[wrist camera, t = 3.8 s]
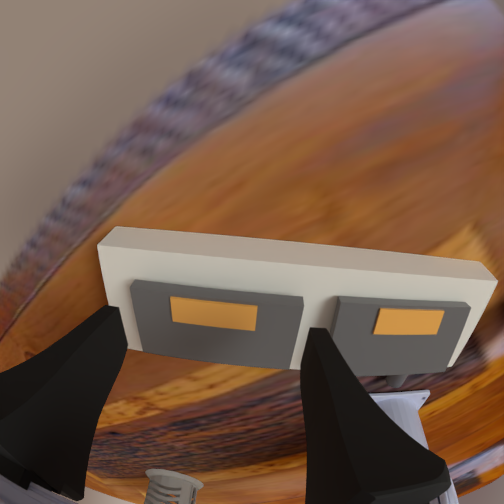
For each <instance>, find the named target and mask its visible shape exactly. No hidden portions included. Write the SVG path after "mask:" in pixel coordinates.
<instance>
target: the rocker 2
mask: <svg viewBox="0 0 504 504" xmlns="http://www.w3.org/2000/svg"><path fill="white" fill-rule="evenodd" d="M470 310H471V307H470V306H469V305H468V304H467V303H466V302H452V301H426V300H404V299H385V298H368V297H352V296H338V298H337V303H336V307H335V312H334V316H333V321H332V325H331V329H330V335H331V337H332V339H333V341H334V342H335V344H336V346H337V348H338V349H339V351H340V353H341V354H342V356H343V358H344V359H345V361H346V362H347V364H348V365H349V367H350V368H351V370H352V371H353V373H354V375H355V376H384V375H407V374H423V373H435V372H445V370H446V368H447V366H448V364H449V362H450V359H451V357H452V355H453V353H454V350H455V348H456V346H457V343H458V341H459V339H460V336H461V334H462V331H463V329H464V326H465V323H466V321H467V318H468V315H469V313H470Z"/></svg>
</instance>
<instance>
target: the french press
mask: <svg viewBox="0 0 504 504" xmlns="http://www.w3.org/2000/svg"><path fill="white" fill-rule="evenodd" d="M145 473H146V475H147V476H148V478H149V479H150V482H149V486H148V490H147V494H146V498H145V502H144V504H163V503H165V504H172V503H170V502H168V501H174V502H175V503H177V504H195V502H196V495H197V490H199V489H201V488H202V487H203V486H204V485H203V483H202V482H200V481H199V480H197V479H195V478H193V477H190V476H188V475H185V474H181V473H178V472H174V471H168V470H163V469H149V470H146V472H145ZM159 491H160V492H159ZM161 492H163V493H161ZM167 494H173V495H175V496H176V498H173V497H171V496H170V495H167ZM193 497H194V499H193V500H192V498H193ZM191 500H192V501H191ZM160 502H163V503H160Z"/></svg>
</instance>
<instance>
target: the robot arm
mask: <svg viewBox="0 0 504 504" xmlns="http://www.w3.org/2000/svg"><path fill="white" fill-rule="evenodd" d="M127 347H128V342H127V338H126V334H125V330H124V326H123V322H122V318H121V313H120V309H119V307H115V306H109V305H105V306H103V307H102V308H101V309H99V310H98V311H97V312H95V313H94V314H93V315H91V316H90V317H89V318H87V319H86V320H85V321H84V322H82V323H81V324H80V325H78V326H77V327H76V328H74V329H73V330H72V331H71V332H69V333H68V334H67V335H65V336H64V337H62V338H61V339H60V340H58V341H57V342H55V343H54V344H53V345H51V346H50V347H48V348H47V349H45V350H44V351H42V352H41V353H39V354H37V355H36V356H34V357H32V358H30V359H29V360H27V361H25V362H23V363H21V364H19V365H17V366H15V367H13V368H11V369H9V370H6V371H4V372H2V373H0V504H78V503H75V502H73V501H70V500H68V499H66V498H64V497H61V496H59V495H57V494H61V495H63V496H65V497H68V498H70V499H72V500H75V501H79V500H82V499H83V498H84V488H85V479H86V472H87V466H88V460H89V454H90V450H91V446H92V441H93V437H94V433H95V430H96V426H97V423H98V419H99V416H100V414H101V411H102V409H103V406H104V404H105V402H106V400H107V397H108V395H109V393H110V391H111V389H112V386H113V384H114V382H115V380H116V378H117V375H118V373H119V371H120V369H121V367H122V364H123V360H124V357H125V354H126V351H127ZM300 389H301V397H302V405H303V414H304V422H305V430H306V440H307V478H306V498H305V504H459V503H458V499H457V495H456V491H455V488H454V485H453V482H452V479H451V477H450V475H449V471H448V468H447V465H446V462H445V460H444V459H442V458H440V457H439V456H437V455H436V454H434V453H433V452H431V451H430V450H429V449H428V445H427V442H426V438H425V435H424V431H423V428H422V425H421V421H420V418H419V415H418V412H417V411H418V410H419V408H420V407H421V406H422V405H423V403H424V402H425V400H426V399H427V398H428V396H429V395H430V391H429V390H419V391H407V392H393V393H374V394H368V392H367V391H366V390H365V388H364V387H363V386H362V384H361V383H360V382H359V380H358V379H357V377H356V376H355V375H354V373H353V371H352V370H351V368H350V367H349V365H348V364H347V362H346V361H345V359H344V358H343V356H342V354H341V353H340V351H339V349H338V348H337V346H336V344H335V342H334V341H333V339H332V337H331V335H330V333H329V331H328V330H327V329H326V328H315V327H310V328H309V332H308V336H307V340H306V344H305V348H304V352H303V356H302V360H301V364H300ZM51 491H53V492H55V493H57V494H55V493H53V492H51Z"/></svg>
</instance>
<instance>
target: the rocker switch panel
mask: <svg viewBox="0 0 504 504" xmlns="http://www.w3.org/2000/svg"><path fill="white" fill-rule="evenodd" d="M97 248H98V254H99V260H100V265H101V270H102V275H103V280H104V285H105V290H106V295H107V299H108V304H109V306H115V307H119V309H120V313H121V318H122V322H123V326H124V330H125V334H126V338H127V342H128V347H127V348H128V349H133V350H138V351H143V349H142V345H141V341H140V337H139V332H138V328H137V323H136V318H135V314H134V309H133V304H132V299H131V293H130V286H131V284H132V283H133V281H134V280H135V279H138V280H146V281H154V282H162V283H170V284H178V285H187V286H196V287H205V288H215V289H224V290H234V291H244V292H255V293H266V294H277V295H289V296H302V297H303V300H304V310H303V314H302V318H301V323H300V327H299V331H298V336H297V340H296V344H295V348H294V352H293V356H292V360H291V364H290V368H289V369H300V364H301V360H302V356H303V352H304V348H305V344H306V340H307V336H308V332H309V328H310V327H315V328H326V329H327V330H328V331H329V333H330V329H331V325H332V321H333V316H334V312H335V307H336V303H337V298H338V296H352V297H368V298H385V299H404V300H426V301H452V302H466V303H467V304H468V305H469V306H470V307H471V310H470V313H469V315H468V318H467V321H466V323H465V326H464V329H463V331H462V334H461V336H460V339H459V341H458V343H457V346H456V348H455V350H454V353H453V355H452V357H451V359H450V362H449V364H448V366H447V367H451V366H452V365H453V364H454V362H455V361H456V359H457V358H458V356H459V354H460V353H461V351H462V349H463V348H464V346H465V344H466V343H467V341H468V339H469V337H470V336H471V334H472V332H473V330H474V329H475V327H476V325H477V323H478V321H479V319H480V317H481V316H482V314H483V312H484V310H485V308H486V306H487V304H488V302H489V300H490V298H491V295H492V293H493V291H494V289H495V287H496V285H497V282H498V281H497V279H496V278H495V277H494V276H493V275H492V274H491V273H490V272H489V271H488V270H487V268H486V267H485V266H484V265H483V264H482V263H481V262H478V261H470V260H461V259H453V258H444V257H435V256H426V255H417V254H408V253H399V252H390V251H381V250H371V249H362V248H352V247H342V246H332V245H322V244H312V243H302V242H292V241H281V240H271V239H260V238H249V237H238V236H227V235H216V234H204V233H193V232H181V231H169V230H157V229H144V228H132V227H119V226H116V227H115V228H114V229H113V230H112V231H111V232H110V233H109V234H108V235H107V236H106V237H105V238H104V239H103V240H102V241H101V242H100V243H99V244H98V245H97ZM407 376H408V374H407V375H387V377H386V382H387V384H388V385H389V386H391V387H393V388H398V387H400V386H401V385H402V384H403V382H404V381H405V379H406V377H407Z"/></svg>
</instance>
